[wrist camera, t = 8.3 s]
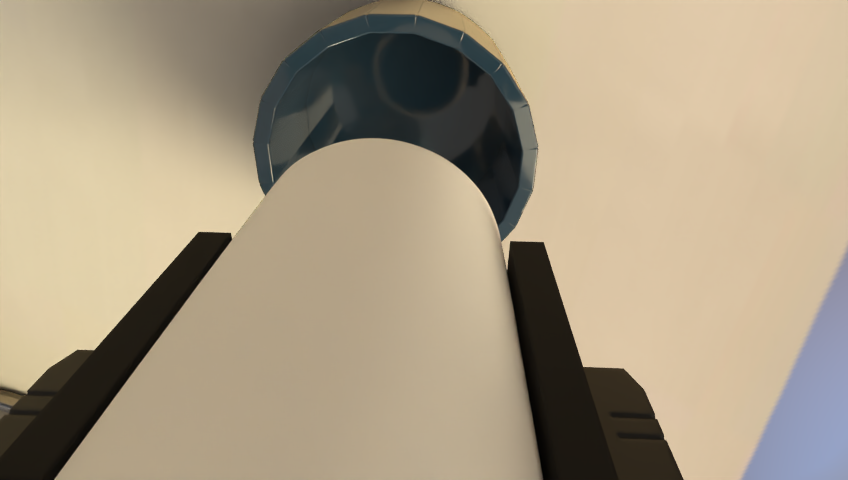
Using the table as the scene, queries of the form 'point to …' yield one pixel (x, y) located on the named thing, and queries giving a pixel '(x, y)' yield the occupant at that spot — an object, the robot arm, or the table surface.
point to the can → (336, 340)
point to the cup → (404, 99)
